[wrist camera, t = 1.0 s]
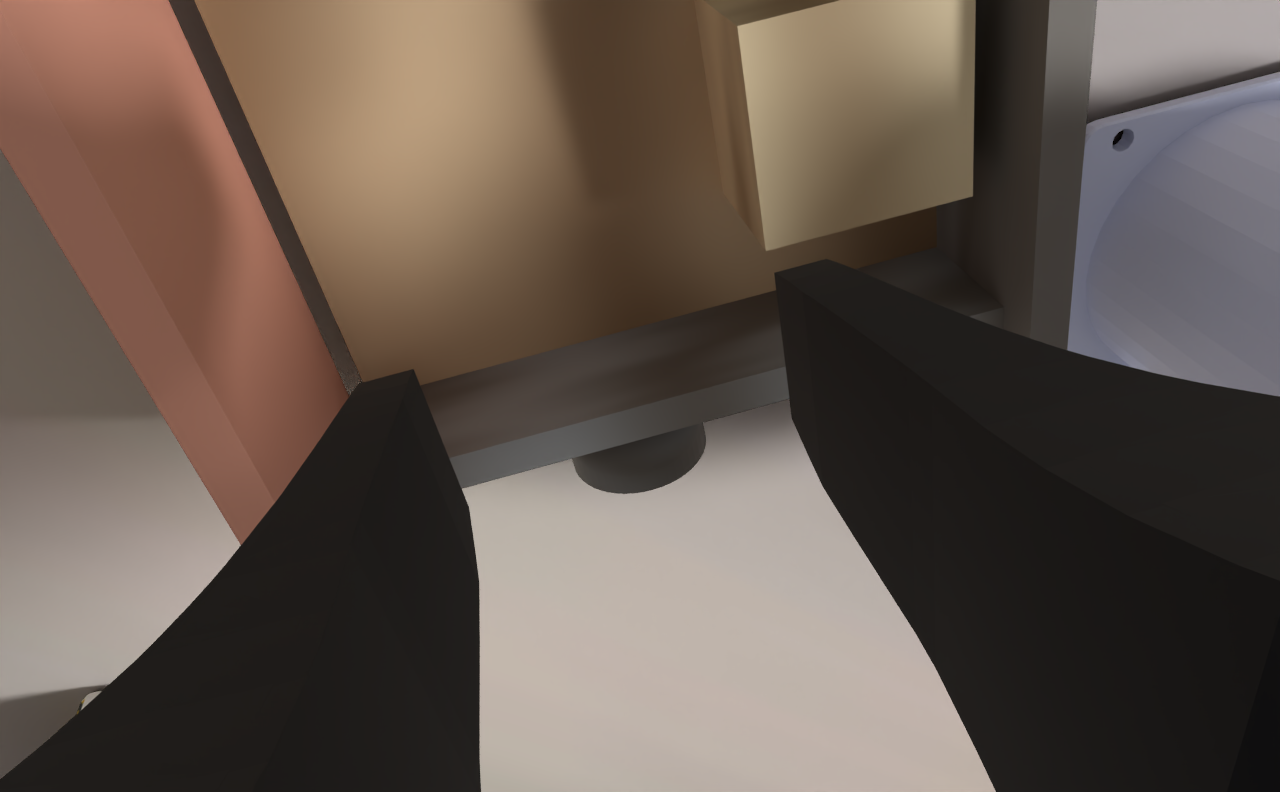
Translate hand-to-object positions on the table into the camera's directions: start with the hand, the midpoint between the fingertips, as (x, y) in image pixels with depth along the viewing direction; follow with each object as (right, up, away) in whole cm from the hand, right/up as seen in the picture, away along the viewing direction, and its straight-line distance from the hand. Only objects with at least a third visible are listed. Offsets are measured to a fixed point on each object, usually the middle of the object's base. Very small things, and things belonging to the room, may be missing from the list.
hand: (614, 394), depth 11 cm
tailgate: (-7, +4, +7) cm, 11 cm away
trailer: (0, +6, +9) cm, 11 cm away
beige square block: (+4, +6, +8) cm, 11 cm away
